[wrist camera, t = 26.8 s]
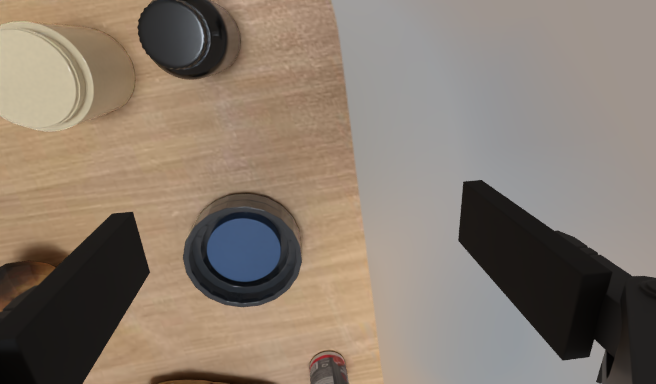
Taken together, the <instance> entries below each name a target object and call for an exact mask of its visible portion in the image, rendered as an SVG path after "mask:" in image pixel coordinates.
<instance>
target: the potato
mask: <svg viewBox="0 0 656 384" xmlns="http://www.w3.org/2000/svg"><path fill="white" fill-rule="evenodd" d="M55 268H56V267H54V266H52V265H50V264H48V263H41V262H34V261H22V262H15V263H8V264H5V265H3V266H1V267H0V312H2V311H3V309H4V308H5V307H6V306H7V305H8V304H9V303H10V302H11V301H12V300H13V299H14V298H15V297H17V296H18V295H20V294H22V293H23V292H25V291H27V290H28V289H30V288H31V287H33V286H35V285H39V284H40V283H41V282H42V281H43V280H44V279H45V278H46V277H47V276H48V275H49V274H50V273H51V272H52V271H53V270H54V269H55Z"/></svg>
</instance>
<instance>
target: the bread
mask: <svg viewBox="0 0 656 384" xmlns="http://www.w3.org/2000/svg"><path fill="white" fill-rule="evenodd" d="M159 384H228V383H222V382H211V381H206V380H174V381H166V382H162V383H159Z"/></svg>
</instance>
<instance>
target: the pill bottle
mask: <svg viewBox="0 0 656 384" xmlns="http://www.w3.org/2000/svg"><path fill="white" fill-rule="evenodd" d="M310 382H311V384H349V381H348V376H347V370H346V365H345V361H344V359H343V357H342V356H341V355H339V354H337V353H335V352H330V351H328V352H322V353H320V354H318V355H316V356H315V357H314V358H313V359H312V361H311V363H310Z"/></svg>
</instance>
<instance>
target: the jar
mask: <svg viewBox="0 0 656 384" xmlns="http://www.w3.org/2000/svg"><path fill="white" fill-rule="evenodd" d="M134 86H135V73H134V68H133V65H132V62H131V60H130V58H129V56H128V54H127V53H126V51H125V50H124V49H123V47H122V46H121V45H120V44H119V43H118V42H117V41H116V40H115V39H113V38H112V37H110V36H109V35H107V34H106V33H104V32H102V31H99V30H97V29H93V28H89V27H80V26H70V25H59V24H48V23H38V22H27V21H15V22H9V23H5V24H2V25H0V116H1V117H2V118H4V119H6V120H8V121H10V122H12V123H14V124H17V125H20V126H24V127H28V128H31V129H34V130H39V131H46V132H54V131H61V130H65V129H68V128H71V127H73V126H76V125H79V124H81V123H84V122H87V121H89V120H92V119H94V118H97V117H100V116H102V115H105V114H108V113H110V112H113V111H115V110H117V109H119V108H121V107H122V106H123V105H124V104H126V102H127V101H128V100H129V99H130V97H131V95H132V93H133V90H134Z"/></svg>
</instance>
